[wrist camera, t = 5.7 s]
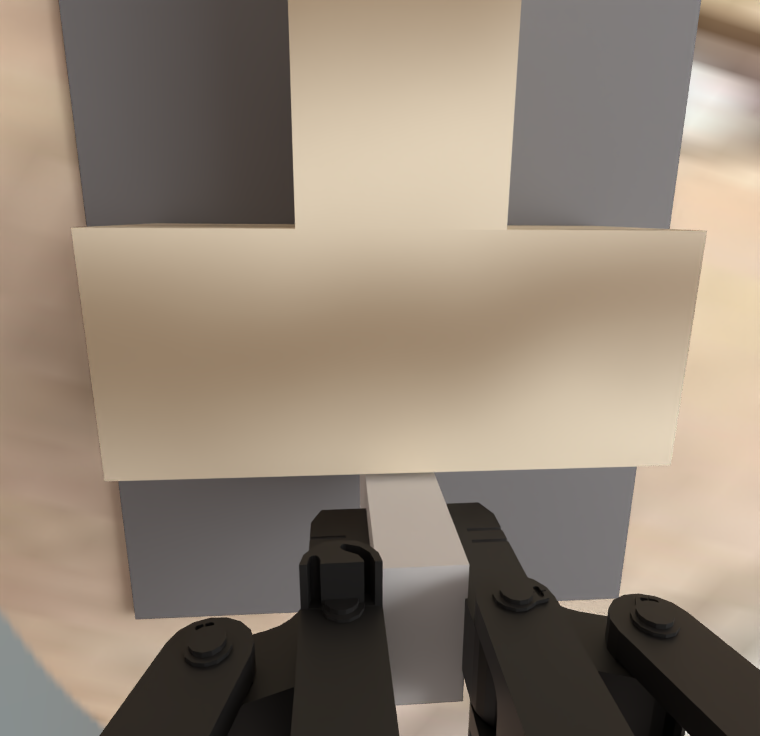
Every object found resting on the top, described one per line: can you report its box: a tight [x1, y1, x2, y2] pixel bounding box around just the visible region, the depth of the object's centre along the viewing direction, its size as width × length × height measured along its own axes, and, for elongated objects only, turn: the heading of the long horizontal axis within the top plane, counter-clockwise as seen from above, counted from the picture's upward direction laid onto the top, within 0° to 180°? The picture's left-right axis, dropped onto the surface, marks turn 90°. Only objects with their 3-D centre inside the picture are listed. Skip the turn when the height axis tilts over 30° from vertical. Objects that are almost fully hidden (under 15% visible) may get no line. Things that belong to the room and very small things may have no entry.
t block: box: [71, 0, 707, 481], centre depth 13 cm, size 13×12×5 cm
